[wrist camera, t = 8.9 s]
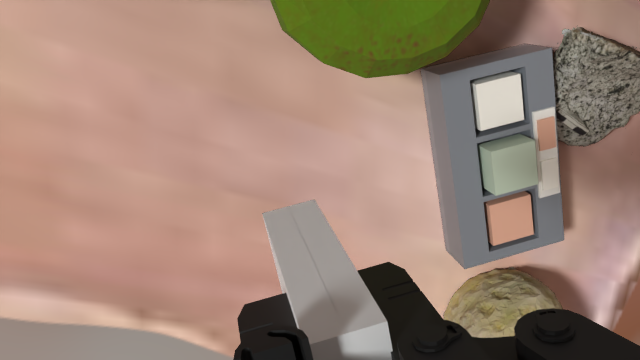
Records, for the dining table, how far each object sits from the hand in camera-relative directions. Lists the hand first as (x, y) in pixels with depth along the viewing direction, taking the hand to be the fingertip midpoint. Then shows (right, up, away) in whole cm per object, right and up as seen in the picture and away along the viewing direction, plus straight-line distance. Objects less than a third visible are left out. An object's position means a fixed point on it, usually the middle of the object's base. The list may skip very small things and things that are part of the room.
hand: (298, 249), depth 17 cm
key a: (+12, +8, +25) cm, 29 cm away
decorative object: (+15, -9, +32) cm, 37 cm away
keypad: (+13, +4, +28) cm, 31 cm away
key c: (+14, 0, +28) cm, 31 cm away
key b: (+13, +3, +25) cm, 29 cm away
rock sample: (+21, +9, +28) cm, 36 cm away
